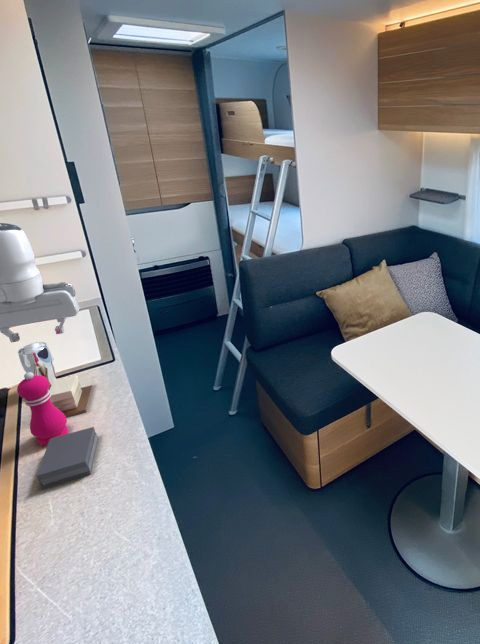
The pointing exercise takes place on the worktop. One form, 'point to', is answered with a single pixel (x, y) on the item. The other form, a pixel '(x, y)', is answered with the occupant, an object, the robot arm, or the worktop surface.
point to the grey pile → (68, 457)
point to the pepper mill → (41, 408)
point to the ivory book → (63, 388)
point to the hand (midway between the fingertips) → (38, 336)
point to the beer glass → (38, 360)
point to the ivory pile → (75, 401)
